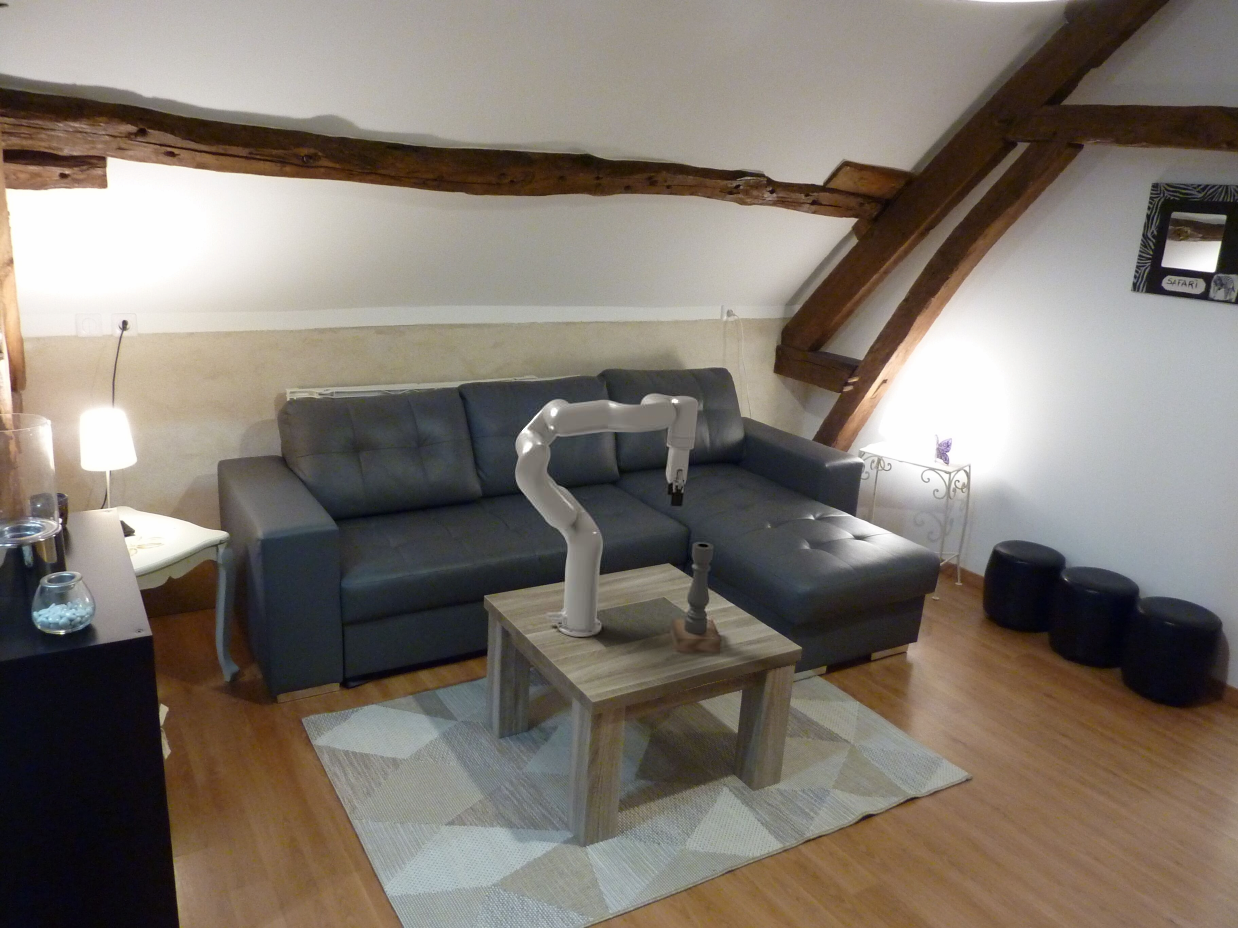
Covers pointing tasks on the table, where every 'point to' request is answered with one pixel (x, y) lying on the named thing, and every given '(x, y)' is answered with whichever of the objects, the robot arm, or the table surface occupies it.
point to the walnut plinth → (695, 638)
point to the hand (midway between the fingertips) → (674, 500)
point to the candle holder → (699, 589)
